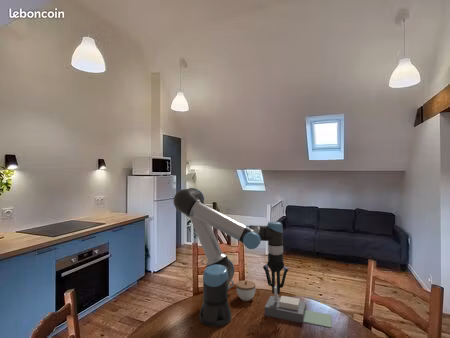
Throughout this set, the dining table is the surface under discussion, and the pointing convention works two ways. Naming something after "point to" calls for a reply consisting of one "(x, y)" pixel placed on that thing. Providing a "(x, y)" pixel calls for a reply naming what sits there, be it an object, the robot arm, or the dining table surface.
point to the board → (285, 311)
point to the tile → (289, 302)
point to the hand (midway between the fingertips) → (276, 300)
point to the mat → (317, 318)
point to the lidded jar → (245, 289)
